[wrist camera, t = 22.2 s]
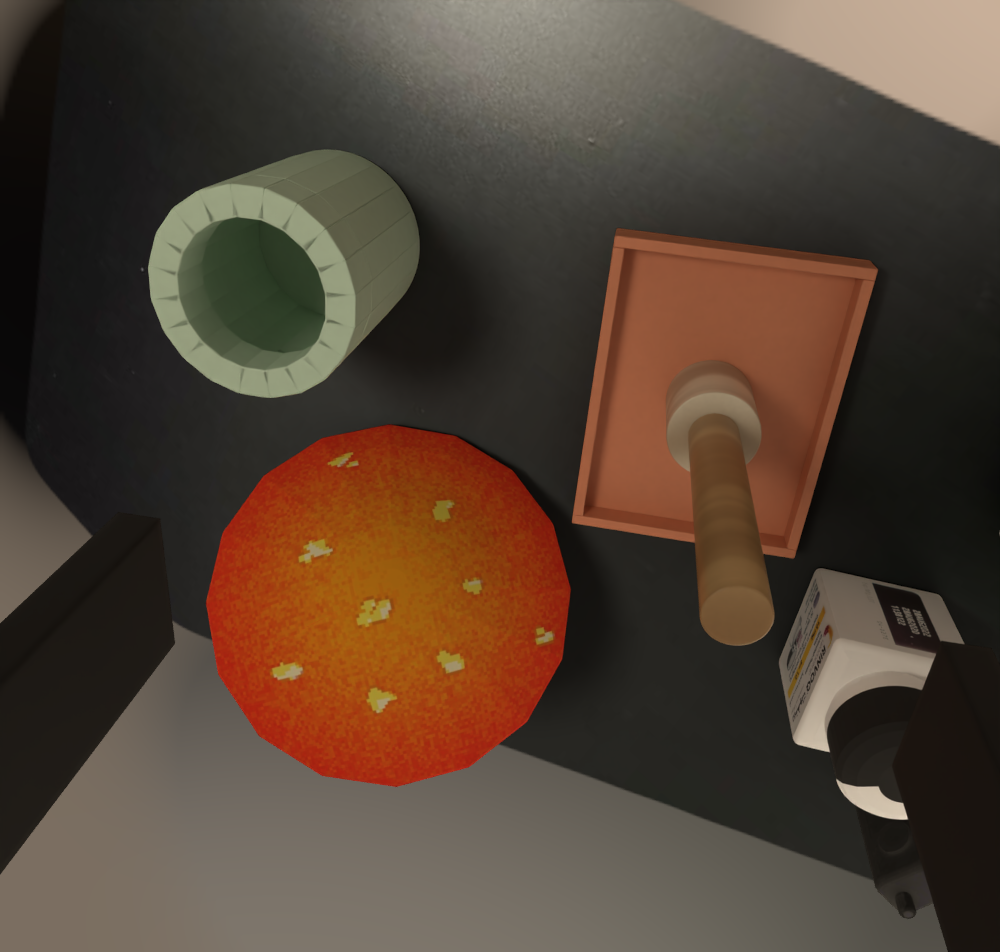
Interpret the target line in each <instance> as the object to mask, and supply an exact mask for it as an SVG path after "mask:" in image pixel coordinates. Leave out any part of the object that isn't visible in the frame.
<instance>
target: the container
mask: <svg viewBox="0 0 1000 952" xmlns="http://www.w3.org/2000/svg"><path fill="white" fill-rule="evenodd" d="M941 641H947V642H954V643H960V644H964V642H963V640H962V638H961V636H960V634H959V632H958V630H957V628H956V626H955V624H954V622H953V620H952V618H951V616H950V614H949V612H948V610H947V608H946V606H945V604H944V602H943V599H942V598H941V596H939V595H938V594H935V593H930V592H926V591H921V590H917V589H912V588H908V587H903V586H899V585H895V584H890V583H886V582H881V581H877V580H872V579H868V578H864V577H859V576H855V575H850V574H846V573H841V572H837V571H832V570H828V569H824V568H819V569H816V571H815V572H814V575H813V577H812V580H811V582H810V585H809V587H808V590H807V592H806V595H805V597H804V600H803V602H802V605H801V607H800V610H799V612H798V614H797V617H796V619H795V622H794V624H793V627H792V629H791V632H790V634H789V637H788V639H787V642H786V644H785V647H784V649H783V652H782V654H781V657H780V659H779V667H780V672H781V677H782V683H783V688H784V693H785V699H786V704H787V709H788V715H789V720H790V725H791V731H792V736H793V740H794V741H795V743H796V744H798V745H802V746H806V747H810V748H814V749H818V750H823V751H827V752H830V755H831V759H832V763H833V767H834V772H835V776H836V780H837V783H838V786H839V788H840V789H841V791H842V793H843V794H844V795H845V796H846V798H848V799H849V800H850V801H851V802H852V803H853V804H855V805H856V806H858V807H859V808H861V809H863V810H865V811H867V812H869V813H872V814H874V815H877V816H881V817H884V818H890V819H900V820H905V819H908V818H907V815H906V811H905V808H904V805H903V801H902V798H901V795H900V791H899V788H898V785H897V782H896V778H895V775H894V772H893V768H892V764H893V761H894V759H895V756H896V754H897V751H898V749H899V746H900V744H901V741H902V739H903V736H904V734H905V731H906V728H907V726H908V723H909V721H910V718H911V716H912V713H913V711H914V708H915V706H916V703H917V701H918V698H919V696H920V693H921V691H922V688H923V686H924V683H925V681H926V678H927V676H928V673H929V671H930V668H931V666H932V663H933V661H934V658H935V655H936V653H937V650H938V648H939V645H940V643H941Z"/></svg>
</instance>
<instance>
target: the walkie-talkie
mask: <svg viewBox="0 0 1000 952" xmlns="http://www.w3.org/2000/svg"><path fill="white" fill-rule="evenodd" d="M855 807H856V811H857V815H858V819H859V823H860V827H861V831H862V835H863V839H864V843H865V847H866V851H867V855H868V859H869V863H870V867H871V871H872V875H873V879H874V883H875V887H876V888H877V890H878V892H879V893H880V894H881V895H882V896H883V897H884V898H885V899H886V900H887V901H888V902H889V903H890V904H891V905H893V906H894V907H895V908H896V909H897V910H898V912H899V914H900V915H901V916H902V917H903V918H908V919H909V918H913V917H914V916H915V915H916V910H918V909H920V908H923V907H925V906H928V905H930V904H933V900H932V897H931V894H930V891H929V887H928V884H927V881H926V877H925V874H924V871H923V867H922V864H921V861H920V858H919V854H918V851H917V848H916V844H915V841H914V838H913V834H912V831H911V828H910V825H909V821H908V819H905V820H900V819H890V818H884V817H881V816H877V815H874V814H872V813H869V812H867V811H865V810H863V809H861V808H859V807H858V806H856V805H855Z"/></svg>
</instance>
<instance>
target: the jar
mask: <svg viewBox="0 0 1000 952" xmlns="http://www.w3.org/2000/svg"><path fill="white" fill-rule="evenodd" d="M419 253H420V239H419V232H418V226H417V222H416V219H415V215H414V213H413V210H412V208H411V205H410V204H409V202H408V200H407V198H406V196H405V195H404V193H403V192H402V190H401V189H400V188H399V186H398V185H397V184H396V183H395V181H394V180H393V179H392V178H391V177H390V176H389V175H388V174H387V173H386V172H384V171H383V170H382V169H381V168H380V167H378V166H377V165H375V164H374V163H372V162H371V161H369V160H367V159H365V158H363V157H361V156H358V155H355V154H352V153H349V152H345V151H340V150H327V149H325V150H315V151H311V152H307V153H303V154H300V155H295V156H292V157H289V158H287V159H284V160H281V161H278V162H275V163H273V164H270V165H267V166H264V167H262V168H259V169H256V170H253V171H251V172H248V173H245V174H242V175H239V176H237V177H234V178H231V179H228V180H226V181H223V182H220V183H217V184H215V185H212V186H209V187H206V188H204V189H201V190H199V191H196V192H195V193H194V194H192V195H191V196H189V197H188V198H186V199H185V200H183V201H182V202H181V203H179V204H178V205H176V206H175V207H174V208H173V209H172V210H171V211H170V213H169V214H168V216H167V217H166V219H165V220H164V222H163V223H162V225H161V226H160V228H159V229H158V231H157V232H156V235H155V239H154V243H153V247H152V252H151V256H150V260H149V266H148V271H149V282H150V293H151V298H152V299H151V300H152V303H153V305H154V308H155V311H156V313H157V316H158V318H159V321H160V323H161V326H162V329H163V330H164V332H165V334H166V335H167V336H168V338H169V339H170V341H171V342H172V343H173V345H174V346H175V347H176V349H177V350H178V352H179V353H180V354H181V356H182V357H183V358H185V360H186V361H188V362H189V363H190V364H191V365H193V366H194V367H195V368H196V369H197V370H199V371H200V372H201V373H202V374H203V375H205V376H206V377H207V378H208V379H210V380H211V381H213V382H215V383H218V384H220V385H222V386H224V387H226V388H228V389H231V390H233V391H235V392H237V393H241V394H246V395H253V396H259V397H266V398H270V397H271V398H275V397H281V396H287V395H293V394H299V393H302V392H304V391H306V390H308V389H309V388H311V387H313V386H315V385H317V384H319V383H320V382H322V381H324V380H325V379H326V378H328V377H329V375H330V374H331V373H332V372H333V371H334V370H335V369H336V368H337V367H338V366H339V365H340V364H341V363H342V362H343V360H345V358H346V357H347V356H348V355H349V354H350V353H351V352H352V351H353V350H354V349H355V348H356V347H357V346H358V345H359V344H360V342H361V341H362V340H363V339H364V338H365V337H366V336H367V335H368V334H369V333H370V332H371V331H372V330H373V329H374V328H375V327H376V325H377V324H378V323H379V322H380V321H381V320H382V319H383V318H384V317H385V316H386V315H387V314H388V313H389V312H390V311H391V309H392V308H393V307H394V306H395V305H396V304H397V302H398V301H399V300H400V299H401V298H402V297H403V295H404V294H405V293H406V291H407V290H408V288H409V286H410V285H411V283H412V281H413V278H414V276H415V273H416V269H417V266H418V261H419Z"/></svg>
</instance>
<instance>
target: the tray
mask: <svg viewBox="0 0 1000 952" xmlns="http://www.w3.org/2000/svg"><path fill="white" fill-rule="evenodd" d="M877 272H878V269H877V268H876V267H875V266H874V264H873V263H872V262H871V261H870V260H864V259H856V258H849V257H841V256H833V255H825V254H817V253H809V252H802V251H794V250H786V249H778V248H770V247H762V246H755V245H747V244H739V243H731V242H723V241H715V240H708V239H700V238H692V237H684V236H676V235H669V234H661V233H653V232H645V231H637V230H629V229H622V228H617V229H616V233H615V238H614V245H613V252H612V258H611V265H610V272H609V278H608V285H607V291H606V298H605V305H604V311H603V318H602V325H601V331H600V338H599V345H598V351H597V358H596V364H595V371H594V378H593V384H592V391H591V398H590V404H589V411H588V417H587V424H586V431H585V437H584V444H583V451H582V457H581V464H580V470H579V477H578V484H577V490H576V497H575V504H574V510H573V517H572V523H576V524H582V525H588V526H595V527H601V528H607V529H613V530H619V531H626V532H632V533H638V534H644V535H650V536H657V537H663V538H669V539H675V540H682V541H688V542H694V543H695V536H694V521H693V506H692V491H691V477H690V472H689V471H687V470H686V469H684V468H683V467H681V466H680V465H679V464H678V463H677V462H676V461H675V460H674V458H673V457H672V455H671V453H670V451H669V448H668V445H667V440H666V394H667V390H668V388H669V385H670V383H671V382H672V380H673V379H674V377H675V376H676V375H677V374H678V373H679V372H680V371H681V370H683V369H684V368H686V367H687V366H689V365H691V364H694V363H696V362H700V361H706V360H716V361H722V362H726V363H728V364H731V365H733V366H734V367H736V368H737V369H739V370H740V371H741V372H742V373H743V374H744V375H745V376H746V378H747V379H748V381H749V383H750V385H751V388H752V392H753V396H754V400H755V404H756V408H757V412H758V416H759V420H760V424H761V430H762V437H761V443H760V446H759V448H758V450H757V452H756V454H755V456H754V457H753V458H752V459H751V461H750V462H749V463H748V464H746V469H747V474H748V479H749V484H750V489H751V494H752V499H753V505H754V510H755V515H756V520H757V525H758V530H759V536H760V541H761V546H762V551H763V554H769V555H775V556H781V557H787V558H795V554H796V550H797V547H798V544H799V541H800V537H801V534H802V530H803V527H804V523H805V520H806V516H807V513H808V510H809V506H810V503H811V499H812V496H813V492H814V489H815V486H816V482H817V479H818V475H819V472H820V468H821V465H822V461H823V458H824V455H825V451H826V448H827V444H828V441H829V437H830V434H831V431H832V427H833V424H834V420H835V417H836V413H837V410H838V406H839V403H840V400H841V396H842V393H843V389H844V386H845V382H846V379H847V375H848V372H849V369H850V365H851V362H852V358H853V355H854V351H855V348H856V345H857V341H858V338H859V334H860V331H861V327H862V324H863V320H864V317H865V314H866V310H867V307H868V303H869V300H870V296H871V293H872V290H873V286H874V283H875V282H874V280H875V279H876V276H877Z"/></svg>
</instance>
